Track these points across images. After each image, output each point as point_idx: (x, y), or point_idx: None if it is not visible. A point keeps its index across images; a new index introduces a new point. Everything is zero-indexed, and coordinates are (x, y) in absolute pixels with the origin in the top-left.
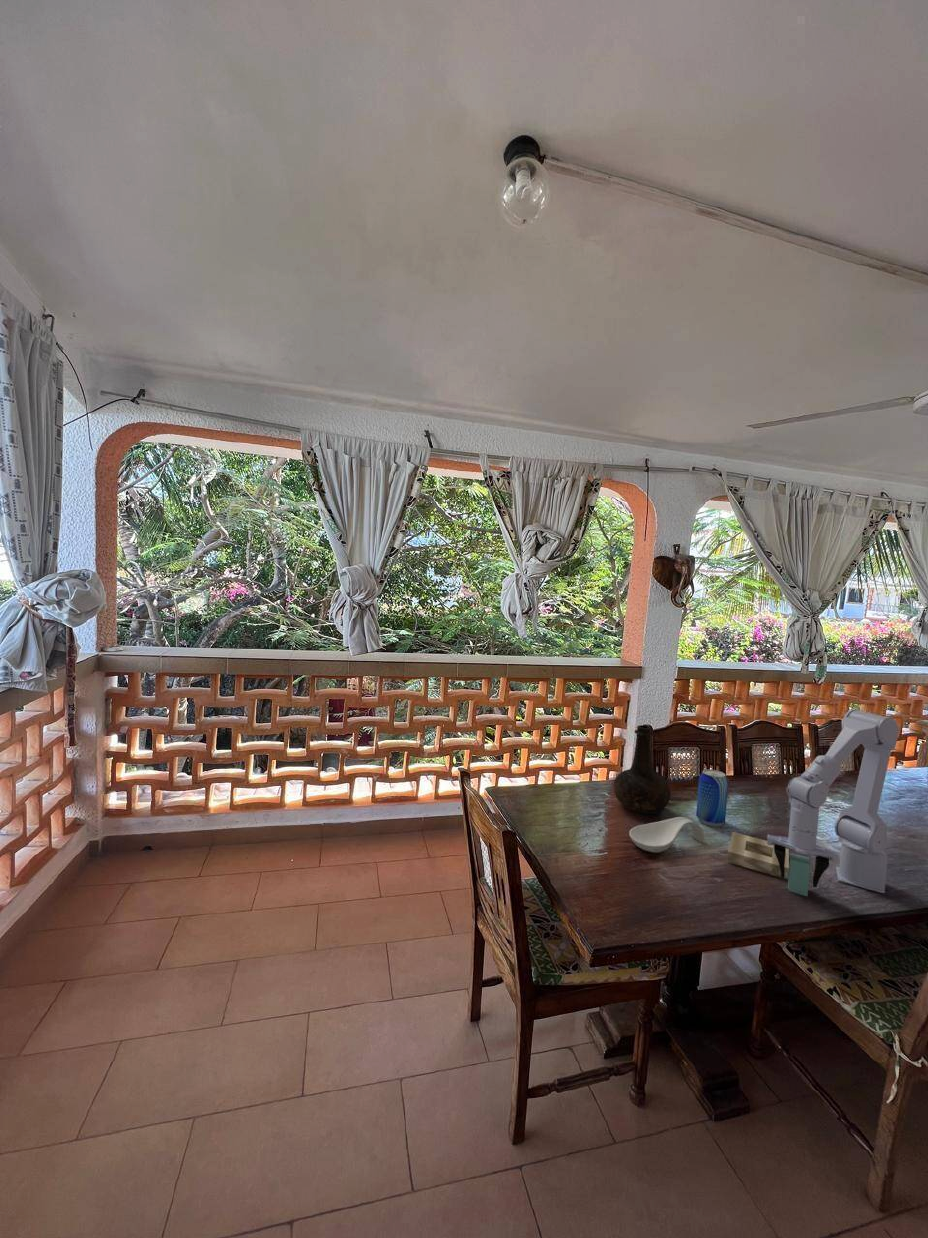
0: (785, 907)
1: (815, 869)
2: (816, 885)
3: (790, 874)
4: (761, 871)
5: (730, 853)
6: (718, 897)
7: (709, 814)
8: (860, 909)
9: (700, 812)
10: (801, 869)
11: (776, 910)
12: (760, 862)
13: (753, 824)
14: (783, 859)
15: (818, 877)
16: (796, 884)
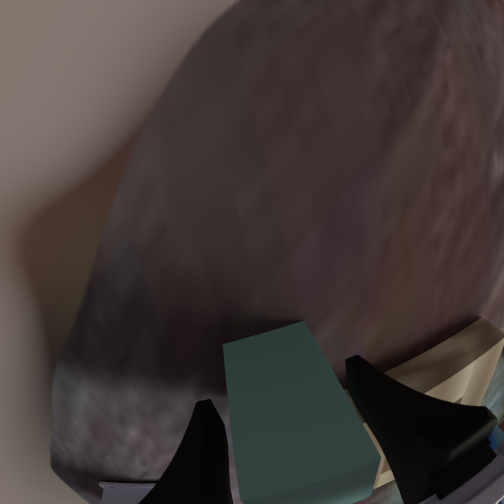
0: (276, 131)
1: (215, 485)
2: (195, 408)
3: (332, 381)
4: (404, 364)
5: (499, 336)
6: (460, 36)
7: (489, 437)
8: (70, 393)
9: (498, 428)
10: (287, 442)
11: (301, 65)
12: (427, 383)
13: (391, 493)
14: (420, 423)
15: (184, 446)
16: (282, 359)
